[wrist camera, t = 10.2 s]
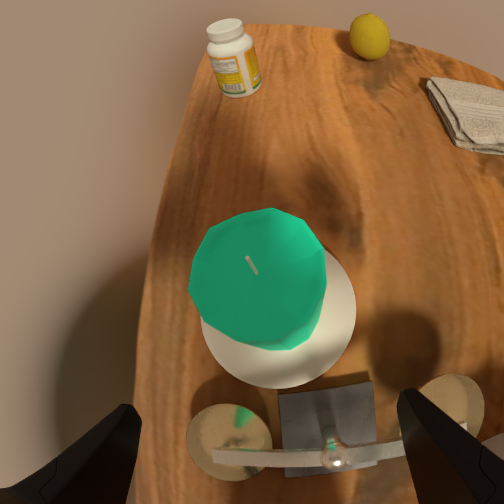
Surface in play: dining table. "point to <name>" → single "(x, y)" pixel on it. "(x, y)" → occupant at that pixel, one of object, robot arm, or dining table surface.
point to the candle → (260, 279)
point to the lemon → (369, 36)
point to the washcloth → (470, 113)
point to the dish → (303, 356)
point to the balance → (317, 430)
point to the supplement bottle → (233, 58)
